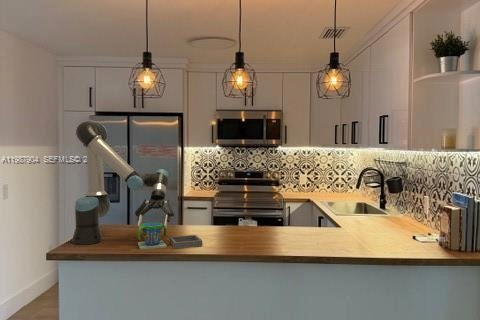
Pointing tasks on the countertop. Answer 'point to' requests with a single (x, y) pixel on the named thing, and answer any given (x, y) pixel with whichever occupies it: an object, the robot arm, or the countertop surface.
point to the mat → (144, 246)
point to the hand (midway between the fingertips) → (152, 226)
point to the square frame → (185, 241)
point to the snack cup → (152, 233)
